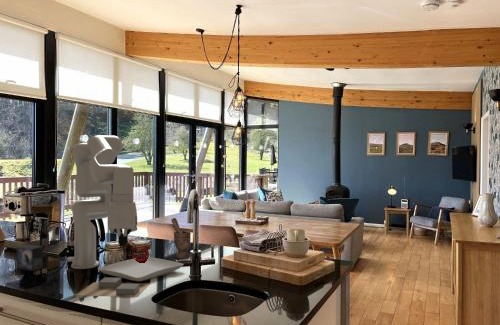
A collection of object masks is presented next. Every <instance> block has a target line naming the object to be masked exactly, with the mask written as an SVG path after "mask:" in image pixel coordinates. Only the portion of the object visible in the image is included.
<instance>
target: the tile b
mask: <svg viewBox="0 0 500 325" xmlns="http://www.w3.org/2000/svg"><path fill="white" fill-rule="evenodd" d="M139 290H140V284H121V285H120V286H118V287H117V288H116V294H117V295H135V294H136V293H137V292H138V291H139Z"/></svg>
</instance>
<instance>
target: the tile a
mask: <svg viewBox="0 0 500 325" xmlns="http://www.w3.org/2000/svg"><path fill="white" fill-rule="evenodd" d="M122 279H123V278H121V277H103V278H102V279H101V280H99V281H98V282H99V288H116V287H118V286H119V285H120V284H121V283H123V282H122Z"/></svg>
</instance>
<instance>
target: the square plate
mask: <svg viewBox="0 0 500 325" xmlns="http://www.w3.org/2000/svg"><path fill="white" fill-rule="evenodd" d="M147 257H148V259H147V261H146V262H145V263H139V262H137V261H136V260H135V259H136V258H131V259H127V260H123V261H118V262H115V263H110V264H107V265H104V266H100V267H98V268H97V270H99V271H100V272H101V273H103V274H105V275H107V276H108V275H109V276H114V277H116V278H122V279H124V280H129V281H134V282H143V281H147V280H148V281H149V280H150V279H154V278H157V277H161V276H165V275H167V274H168V275H169V274H170V273H172V272H174V271H177V270H179V269H181V268H182V267H183V266H184V265H185V263H181V262H176V261H172V260H167V259H162V258H156V257H149V256H147Z"/></svg>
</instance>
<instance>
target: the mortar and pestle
mask: <svg viewBox="0 0 500 325" xmlns="http://www.w3.org/2000/svg"><path fill="white" fill-rule="evenodd" d="M170 221H171V223H172V226H173V227H174V229H175V231H174V232H173V237H174V238H173V240H174V241H173V242H174V247H175V248H176V249H177V253H176V254H175V258H176V259H181V260H182V259H183V260H186V259H188V258H190V254H189V252H188V249H189V248H190V246H191V241H192V240H191V234H192V233H191V231H188V230H181V227H180V225H179V222H178V220H177V218H176V217H173V218H171V220H170Z"/></svg>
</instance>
